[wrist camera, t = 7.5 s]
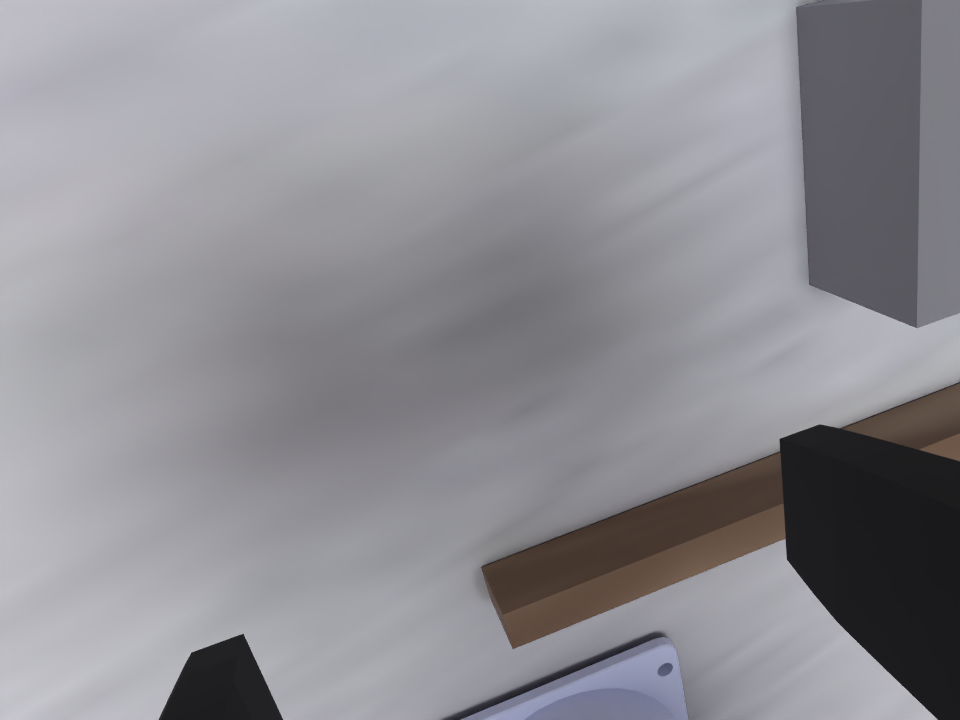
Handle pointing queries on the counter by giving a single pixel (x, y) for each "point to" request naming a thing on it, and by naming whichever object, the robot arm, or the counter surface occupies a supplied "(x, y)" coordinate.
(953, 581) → the robot arm
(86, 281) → the counter surface
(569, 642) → the counter surface
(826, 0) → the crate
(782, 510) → the bay
